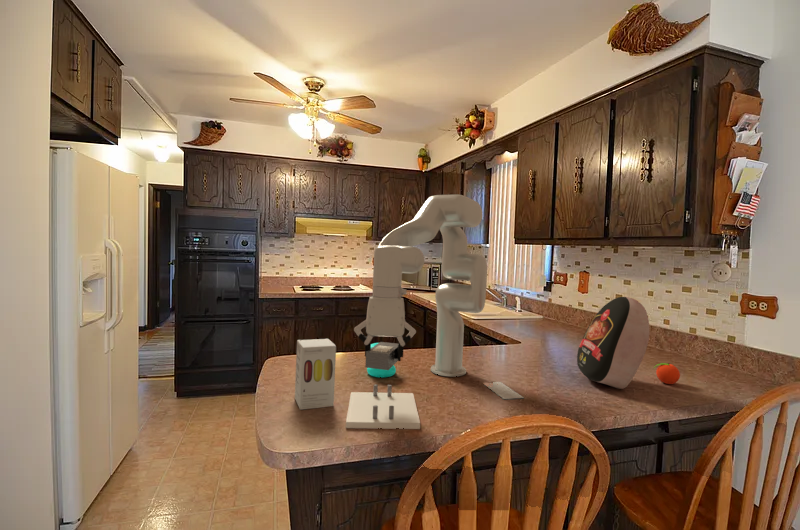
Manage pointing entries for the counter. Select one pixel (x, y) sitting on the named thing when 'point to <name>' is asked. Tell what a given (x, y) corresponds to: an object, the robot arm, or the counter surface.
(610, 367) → the packaged food
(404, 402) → the white peg board
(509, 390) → the smartphone
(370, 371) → the donuts
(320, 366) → the supplement box
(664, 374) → the clementine
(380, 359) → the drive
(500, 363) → the counter surface
